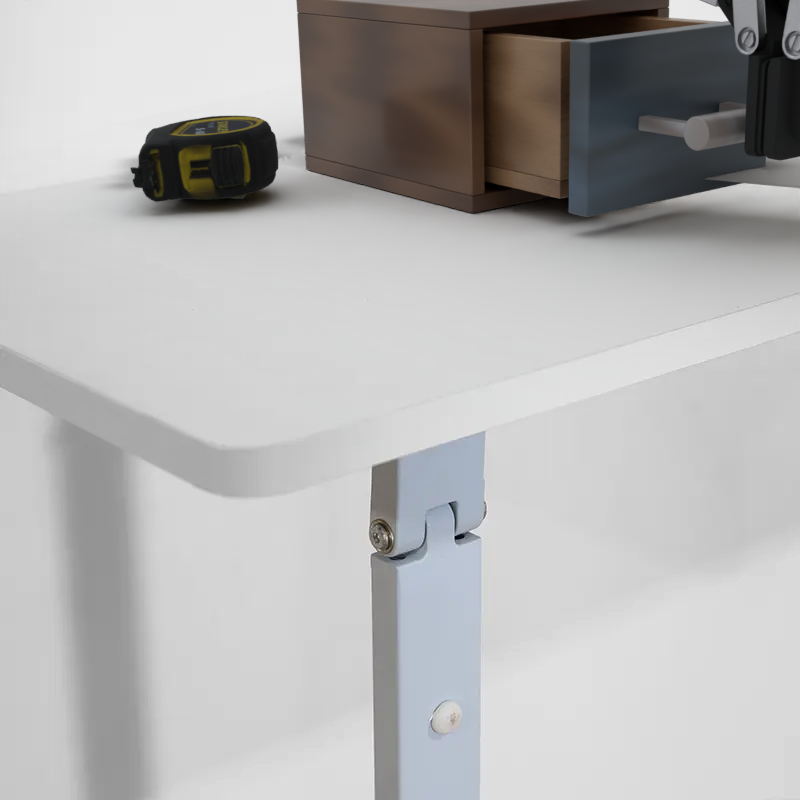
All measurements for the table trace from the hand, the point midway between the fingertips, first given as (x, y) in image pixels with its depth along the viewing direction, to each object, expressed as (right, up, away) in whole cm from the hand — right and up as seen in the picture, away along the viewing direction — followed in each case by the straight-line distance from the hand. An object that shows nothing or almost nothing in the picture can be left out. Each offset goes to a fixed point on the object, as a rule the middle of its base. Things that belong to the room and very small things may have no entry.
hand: (784, 152), depth 57 cm
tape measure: (-26, 0, +13) cm, 29 cm away
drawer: (-6, 0, +9) cm, 11 cm away
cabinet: (-11, +2, +17) cm, 20 cm away
